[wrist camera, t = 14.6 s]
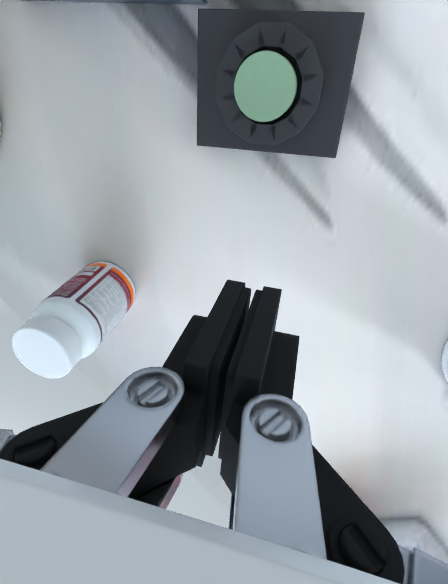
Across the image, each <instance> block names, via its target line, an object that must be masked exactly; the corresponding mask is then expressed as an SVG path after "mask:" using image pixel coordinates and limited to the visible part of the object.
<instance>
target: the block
mask: <svg viewBox="0 0 448 584" xmlns="http://www.w3.org/2000/svg"><path fill="white" fill-rule="evenodd" d="M363 19H364V12H322V11H279V10H237V9H198V91H197V145H198V146H209V147H220V148H231V149H242V150H253V151H264V152H275V153H286V154H297V155H308V156H319V157H330V158H336V154H337V149H338V144H339V139H340V134H341V129H342V124H343V119H344V114H345V109H346V104H347V99H348V94H349V89H350V84H351V79H352V74H353V69H354V64H355V59H356V54H357V49H358V44H359V39H360V34H361V29H362V24H363ZM259 51H273V52H276V53H279V54H280V55H282V56H283V57H285V58H286V59H287V60H288V61H289V62H290V63H291V65H292V66H293V68H294V70H295V73H296V77H297V91H296V95H295V98H294V100H293V102H292V104H291V106H290V107H289V108H288V110H287V111H286V112H284V113H283V114H282V115H281V116H280V117H278V118H276V119H274V120H271V121H267V122H259V121H255V120H252V119H250V118H249V117H247V116H246V115H245V114H244V113H243V112H242V111H241V110H240V108H239V106H238V104H237V102H236V99H235V95H234V81H235V77H236V74H237V71H238V69H239V68H240V66H241V64H242V63H243V62H244V61H245V60H246V59H247V58H248V57H249V56H251V55H252V54H254V53H257V52H259Z"/></svg>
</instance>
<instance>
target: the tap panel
mask: <svg viewBox="0 0 448 584" xmlns="http://www.w3.org/2000/svg"><path fill="white" fill-rule="evenodd" d="M23 1H69V2H115V3H162V4H207V0H23Z"/></svg>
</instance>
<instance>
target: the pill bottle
mask: <svg viewBox="0 0 448 584" xmlns="http://www.w3.org/2000/svg"><path fill="white" fill-rule="evenodd" d="M134 300H135V288H134V285H133V282H132V280H131V279H130V277H129V276H128V275H127V274H126V273H125V272H124V271H123V270H122V269H121V268H119V267H118V266H116V265H114V264H111V263H108V262H102V261H101V262H94V263H91V264H89V265H88V266H86V267H85V268H84V269H82V270H81V271H79V272H78V273H77V274H76V275H75V276H73V277H72V278H71V279H70V280H68V281H67V282H66V283H65V284H63V285H62V286H61V287H60V288H58V289H57V290H56V291H55V292H53V293H52V294H51V295H50V296H48V297H47V298H46V299H44V300H43V301H42V302H41V303H40V304H39V305H38V306H37V307H36V308H35V310H34V312H33V315H32V318H31V319H30V320H29V321H27V322H26V323H25V324H24V325H23V326H22V327H21V328H19V329H18V330H17V331H16V332H15V333H14V335H13V337H12V347H13V350H14V352H15V354H16V356H17V357H18V359H19V360H20V361H21V363H22V364H23V365H25V366H26V367H27V368H28V369H29V370H31V371H32V372H34V373H36V374H38V375H40V376H43V377H46V378H61V377H63V376H65V375H66V374H67V373H69V371H70V370H71V369H72V368H73V367H74V366H75V365H76V364H77V363H78V362H79V360H80V359H81V358H84V357H87V356H89V355H90V354H91V353H93V352H94V351H95V350H96V349H97V347H98V346H99V345H100V344H101V343H102V342H103V341H104V339H105V338H106V337H107V336H108V335H109V333H110V332H111V331H112V330H113V329H114V327H115V326H116V325H117V324H118V322H119V321H120V320H121V319H122V317H123V316H124V315H125V314H126V313H127V311H128V310H129V309H130V307H131V306H132V304H133V303H134Z"/></svg>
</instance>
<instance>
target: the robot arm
mask: <svg viewBox="0 0 448 584" xmlns="http://www.w3.org/2000/svg"><path fill="white" fill-rule="evenodd" d="M281 291H282V289H276V288H271V287H265V286H264V287H263V290H262V291H261V290H256V291H255V294H254V297H253V300H252V302H251V305H250V308H249V304H250V296H251V289H250V288H245V283H243V282H238V281H232V280H227V281H226V283H225V285H224V287H223V289H222V291H221V293H220V294H219V296H218V298H217V300H216V302H215V304H214V306H213V308H212V310H211V312H210V313H209V315H208V317H202V316H198V315H194V316H193V317H192V318H191V320H190V321H189V323H188V325H187V326H186V328H185V330H184V331H183V333H182V335H181V336H180V338H179V340H178V341H177V343H176V345H175V346H174V348H173V350H172V352H171V353H170V355H169V357H168V358H167V360H166V362H165V363H164V365H163V367H148V368H144V369H141V370H138V371H136V372H134V373H132V374H131V375H130V376H129V377H127V378H126V379H125V380H124V381H123V382H122V384H121V385H120V386H119V387H118V388H117V389H116V390H115V391H114V392H113V393H112V394H111V395H110V396H109V397H108V398H107V399H106V400H105V402H103V403H100V404H97V405H94V406H91V407H88V408H86V409H83V410H80V411H77V412H74V413H72V414H69V415H66V416H63V417H60V418H57V419H54V420H51V421H49V422H46V423H43V424H40V425H37V426H35V427H31V428H29V429H27V430H25V431H23V432H21V433H19V434H18V435H14V433H13V430H5V429H0V584H448V564H446V563H444V562H442V561H440V560H438V559H436V558H434V557H433V556H431V555H429V554H427V553H425V552H423V551H421V550H419V549H417V548H415V547H413V549H412V550H411V551H409V550H407V549H406V548H404V547H402V546H400V545H398V544H397V543H396V541H395V540H394V538H393V537H392V535H391V534H390V533H389V531H388V530H387V529H386V528H385V526H384V525H383V524H382V523H381V522H380V521H379V520H378V519H377V517H376V516H375V515H374V514H373V513H372V512H371V511H370V509H369V508H368V507H367V506H366V505H365V504H364V503H363V502H362V500H361V499H360V498H359V497H358V496H357V495H356V494H355V493H354V491H353V490H352V489H351V488H350V487H349V486H348V485H347V484H346V482H345V481H344V480H343V479H342V478H341V477H340V476H339V475H338V473H337V472H336V471H335V470H334V469H333V468H332V467H331V465H330V464H329V463H328V462H327V461H326V460H325V459H324V458H323V456H322V455H321V454H320V453H319V452H318V451H317V450H316V449H315V447H314V446H313V445H312V442H311V434H310V426H309V421H308V418H307V415H306V413H305V412H304V411H303V409H302V408H301V407H300V406H299V405H298V404H297V403H296V402H294V401H293V400H292V397H293V388H294V380H295V371H296V362H297V353H298V345H299V336H296V335H291V334H286V333H281V332H276V331H275V325H276V320H277V314H278V308H279V303H280V297H281ZM442 370H443V373H444V376H445V378H446V381H447V383H448V341H447V343H446V345H445V346H444V350H443V354H442ZM220 431H221V433H220ZM219 435H220V443H219V454H218V458H220V459H222V462H221V472H220V475H221V476H222V478H223V480H224V481H225V483H226V485H227V486H228V488H229V490H230V491H231V499H230V512H229V524H228V529H227V528H224V527H221V526H217V525H214V524H211V523H208V522H205V521H202V520H198V519H195V518H192V517H189V516H185V515H182V514H179V513H176V512H173V511H169V510H166V508H167V506H168V504H169V502H170V500H171V499H172V497H173V495H174V493H175V492H176V490H177V488H178V486H179V484H180V482H181V479H182V475H183V473H184V472H186V471H188V470H191V469H193V468H195V467H196V466H200V467H202V464H203V461H204V458H205V455H209V456H213V454H214V451H215V447H216V444H217V441H218V438H219Z"/></svg>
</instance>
